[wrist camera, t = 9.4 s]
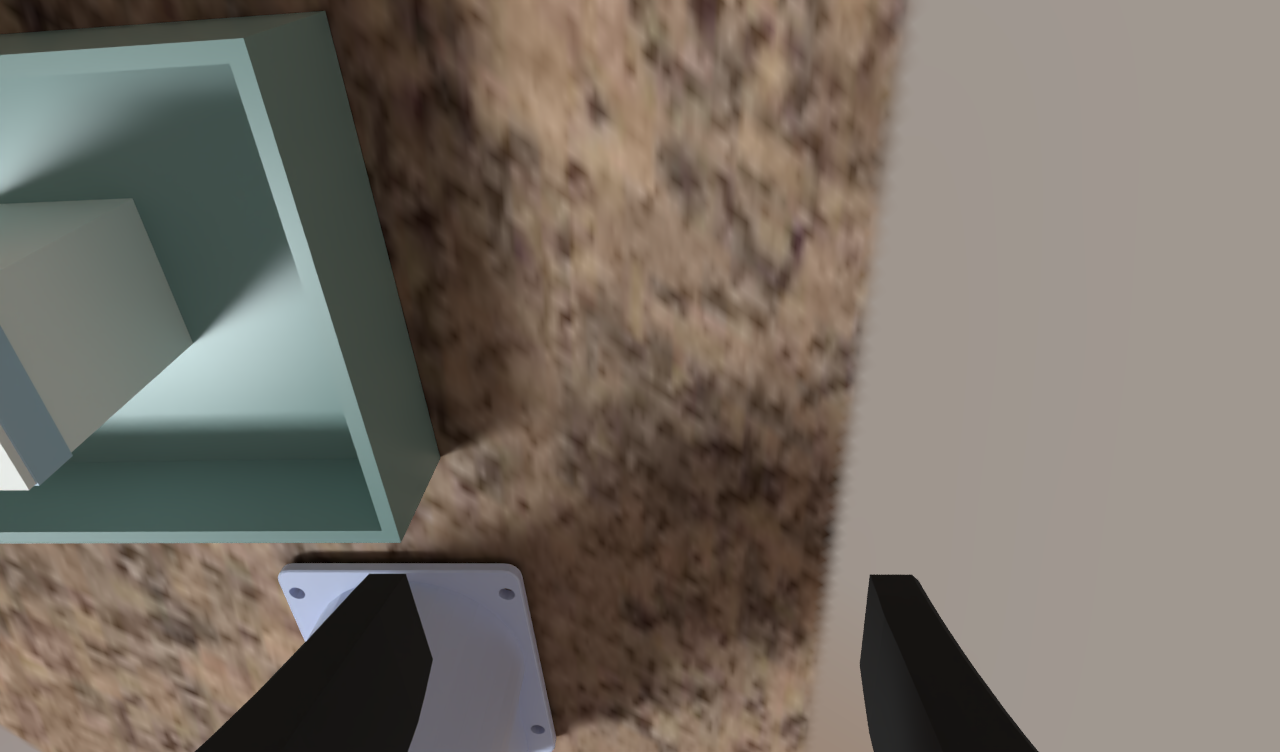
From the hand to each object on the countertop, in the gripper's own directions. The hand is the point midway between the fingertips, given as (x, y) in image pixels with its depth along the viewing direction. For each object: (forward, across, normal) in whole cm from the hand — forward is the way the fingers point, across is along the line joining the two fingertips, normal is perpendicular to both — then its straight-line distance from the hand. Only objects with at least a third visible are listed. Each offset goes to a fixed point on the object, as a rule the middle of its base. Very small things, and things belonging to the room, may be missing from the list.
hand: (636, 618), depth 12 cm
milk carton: (+9, +14, -2) cm, 17 cm away
